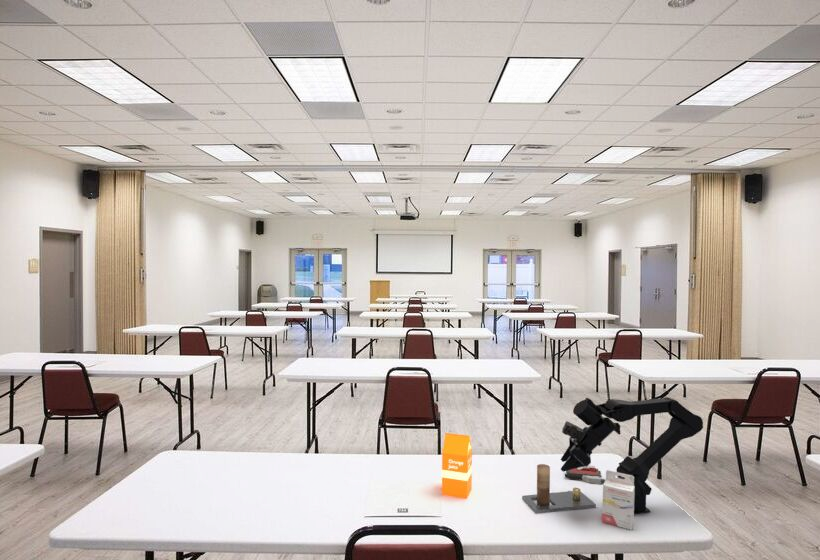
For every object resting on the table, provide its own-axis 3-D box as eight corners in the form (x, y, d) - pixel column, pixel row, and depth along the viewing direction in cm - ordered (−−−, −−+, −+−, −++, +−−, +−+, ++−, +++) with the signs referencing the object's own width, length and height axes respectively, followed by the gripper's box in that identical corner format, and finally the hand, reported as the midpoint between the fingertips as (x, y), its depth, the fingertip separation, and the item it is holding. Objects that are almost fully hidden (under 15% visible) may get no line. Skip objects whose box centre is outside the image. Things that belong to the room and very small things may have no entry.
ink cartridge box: (601, 522, 147) (602, 474, 146) (604, 515, 151) (604, 469, 151) (632, 530, 142) (633, 481, 142) (634, 523, 147) (635, 475, 146)
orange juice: (467, 498, 162) (467, 439, 161) (441, 494, 164) (441, 436, 164) (471, 488, 169) (472, 432, 169) (447, 485, 172) (447, 429, 171)
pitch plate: (596, 507, 156) (596, 495, 156) (535, 513, 152) (535, 500, 152) (579, 493, 166) (579, 481, 166) (522, 498, 162) (522, 486, 162)
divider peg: (551, 506, 156) (552, 468, 156) (540, 508, 156) (540, 469, 155) (545, 501, 160) (546, 463, 160) (534, 502, 160) (535, 464, 159)
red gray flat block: (565, 482, 175) (624, 487, 171) (565, 470, 175) (624, 475, 171) (562, 472, 184) (618, 477, 180) (562, 461, 184) (618, 465, 180)
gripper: (576, 407, 165) (543, 438, 168) (577, 421, 147) (541, 455, 150) (601, 432, 163) (568, 463, 166) (606, 449, 145) (569, 483, 148)
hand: (561, 465), depth 157 cm, fingers open, 9 cm apart
